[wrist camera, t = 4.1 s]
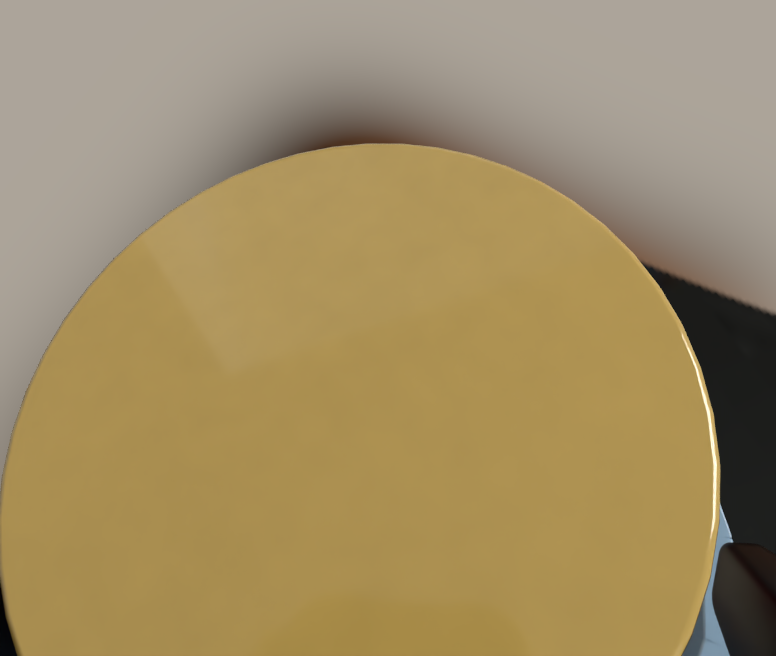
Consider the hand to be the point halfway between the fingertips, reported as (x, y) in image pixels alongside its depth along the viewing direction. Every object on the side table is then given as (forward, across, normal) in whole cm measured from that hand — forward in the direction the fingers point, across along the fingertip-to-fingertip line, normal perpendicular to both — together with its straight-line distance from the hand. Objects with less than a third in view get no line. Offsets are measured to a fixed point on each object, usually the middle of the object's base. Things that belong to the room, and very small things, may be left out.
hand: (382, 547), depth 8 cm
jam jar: (+6, 0, +5) cm, 8 cm away
